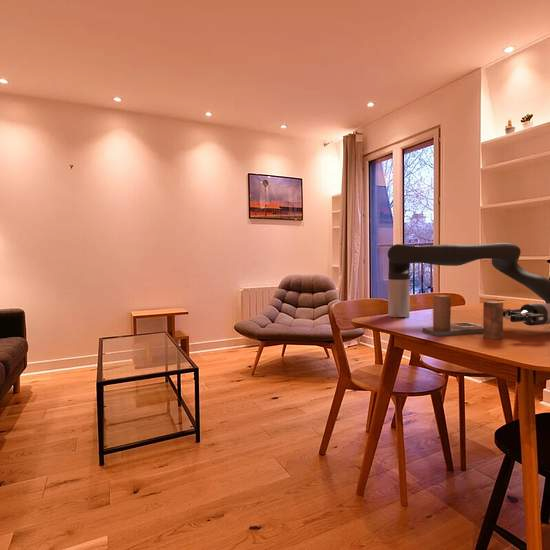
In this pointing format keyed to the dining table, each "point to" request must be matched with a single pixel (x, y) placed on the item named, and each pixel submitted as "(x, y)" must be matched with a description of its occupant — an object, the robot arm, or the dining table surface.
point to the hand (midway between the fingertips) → (500, 316)
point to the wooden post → (493, 320)
